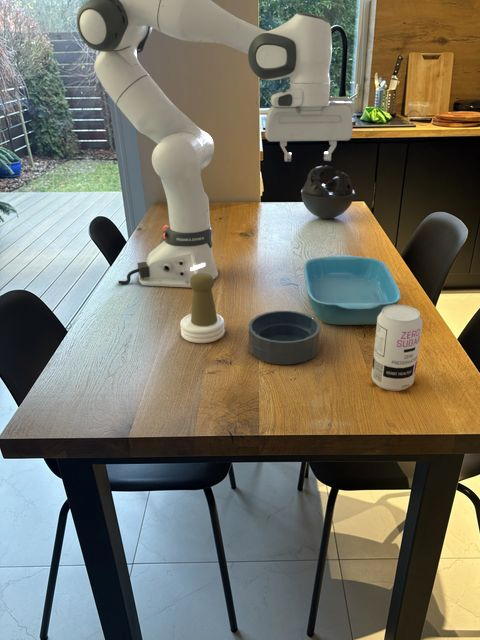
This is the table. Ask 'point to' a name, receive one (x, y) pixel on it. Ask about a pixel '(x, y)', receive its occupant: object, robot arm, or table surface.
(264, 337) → the bowl
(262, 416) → the table surface
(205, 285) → the olive pawn
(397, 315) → the supplement can
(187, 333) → the coaster
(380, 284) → the casserole dish
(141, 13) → the robot arm
